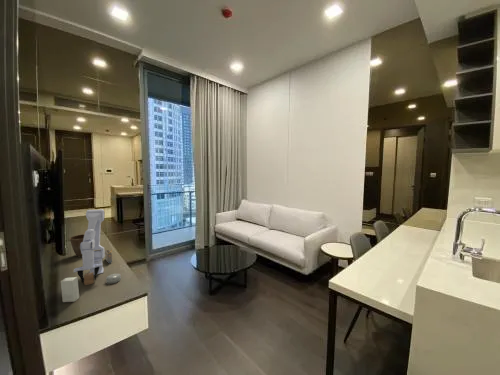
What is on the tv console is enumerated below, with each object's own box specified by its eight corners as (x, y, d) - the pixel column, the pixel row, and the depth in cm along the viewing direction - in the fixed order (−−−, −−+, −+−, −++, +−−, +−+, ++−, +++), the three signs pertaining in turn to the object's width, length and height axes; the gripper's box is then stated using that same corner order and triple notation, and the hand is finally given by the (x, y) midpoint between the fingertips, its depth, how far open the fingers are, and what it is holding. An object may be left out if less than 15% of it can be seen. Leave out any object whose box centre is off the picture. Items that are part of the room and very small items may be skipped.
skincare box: (79, 297, 121) (78, 276, 120) (73, 302, 116) (72, 280, 115) (67, 298, 120) (66, 276, 119) (61, 302, 115) (60, 280, 115)
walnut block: (85, 282, 138) (84, 273, 137) (93, 280, 140) (93, 272, 140) (84, 285, 134) (84, 276, 133) (93, 283, 136) (93, 274, 136)
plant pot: (97, 252, 190) (96, 234, 189) (82, 258, 175) (81, 239, 174) (81, 251, 191) (80, 233, 190) (65, 258, 177) (64, 238, 175)
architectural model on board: (112, 263, 168) (112, 250, 167) (108, 264, 166) (107, 251, 165) (110, 258, 176) (109, 247, 176) (105, 259, 174) (105, 247, 174)
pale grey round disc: (106, 279, 141) (106, 275, 141) (120, 276, 145) (120, 272, 145) (106, 285, 134) (105, 280, 134) (121, 281, 138) (120, 277, 138)
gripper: (72, 264, 129) (73, 286, 129) (101, 259, 136) (102, 280, 137) (74, 260, 135) (75, 281, 135) (102, 255, 142) (103, 275, 143)
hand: (89, 280), depth 137 cm, fingers open, 6 cm apart
